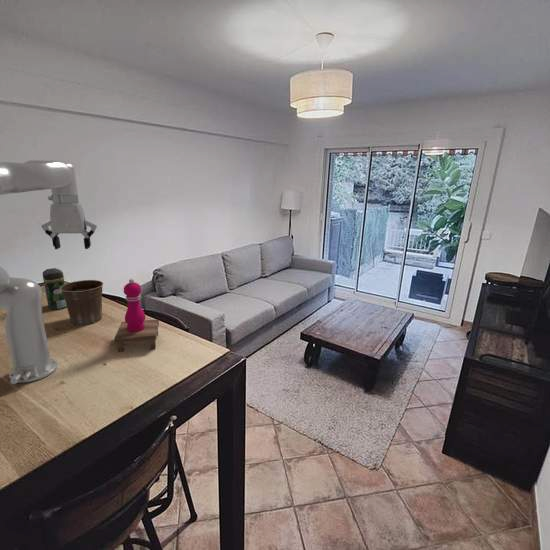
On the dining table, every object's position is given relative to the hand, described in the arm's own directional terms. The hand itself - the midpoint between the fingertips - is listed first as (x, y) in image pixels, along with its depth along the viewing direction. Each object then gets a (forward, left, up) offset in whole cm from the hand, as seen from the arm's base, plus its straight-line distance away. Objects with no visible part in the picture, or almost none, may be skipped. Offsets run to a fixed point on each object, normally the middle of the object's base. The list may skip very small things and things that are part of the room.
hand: (72, 248), depth 116 cm
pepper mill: (-7, -20, -30) cm, 37 cm away
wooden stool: (-7, -21, -36) cm, 42 cm away
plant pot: (+19, +4, -36) cm, 41 cm away
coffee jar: (+37, +21, -36) cm, 56 cm away
